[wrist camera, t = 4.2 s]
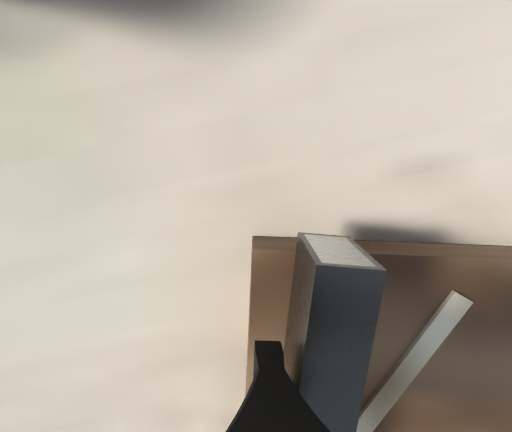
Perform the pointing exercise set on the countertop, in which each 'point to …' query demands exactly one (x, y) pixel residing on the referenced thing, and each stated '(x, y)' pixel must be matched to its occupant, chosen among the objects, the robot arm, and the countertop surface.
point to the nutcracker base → (415, 333)
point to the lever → (332, 325)
